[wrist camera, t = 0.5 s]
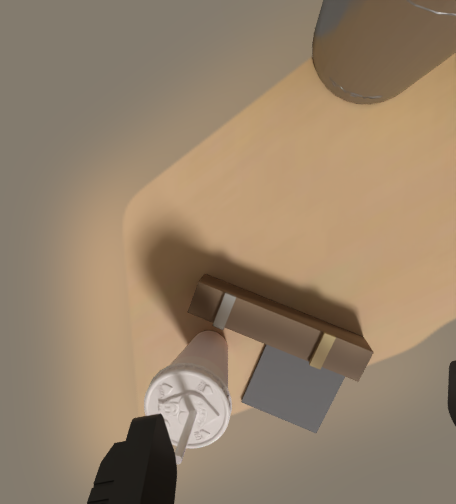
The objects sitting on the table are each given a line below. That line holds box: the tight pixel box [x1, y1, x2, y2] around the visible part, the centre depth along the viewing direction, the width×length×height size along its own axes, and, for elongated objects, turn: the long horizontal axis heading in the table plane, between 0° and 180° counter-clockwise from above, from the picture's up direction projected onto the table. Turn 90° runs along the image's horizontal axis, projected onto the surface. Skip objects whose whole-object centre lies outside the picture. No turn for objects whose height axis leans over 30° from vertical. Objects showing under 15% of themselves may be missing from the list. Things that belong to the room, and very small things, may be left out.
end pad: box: [242, 344, 345, 433], centre depth 32 cm, size 8×8×1 cm
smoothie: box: [144, 331, 232, 464], centre depth 26 cm, size 6×6×14 cm
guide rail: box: [188, 274, 373, 381], centre depth 30 cm, size 3×16×3 cm, turn 69°
